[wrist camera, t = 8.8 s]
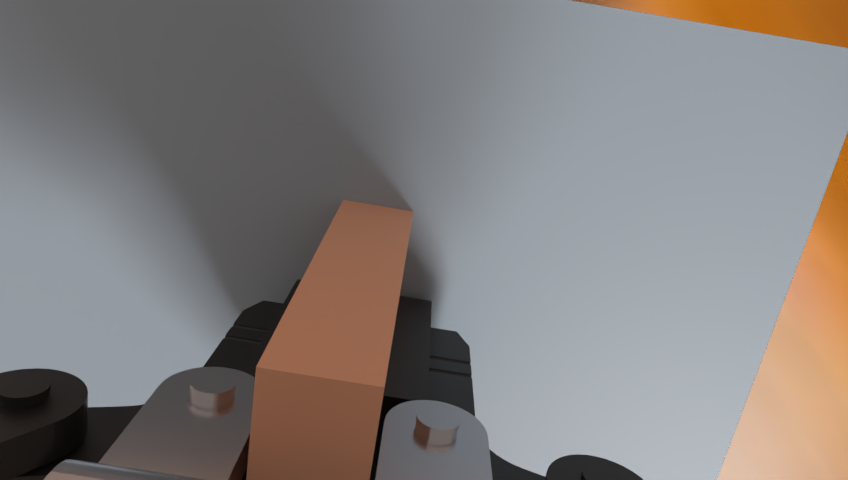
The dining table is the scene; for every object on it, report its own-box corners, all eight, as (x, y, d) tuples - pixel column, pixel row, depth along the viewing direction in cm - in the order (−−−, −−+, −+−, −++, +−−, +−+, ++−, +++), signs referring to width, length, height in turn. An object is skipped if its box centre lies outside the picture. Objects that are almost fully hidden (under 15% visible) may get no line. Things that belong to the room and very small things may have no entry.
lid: (808, 44, 12) (1306, 108, 5) (630, 566, 16) (769, 1001, 9) (17, -92, 12) (-622, -224, 5) (39, 475, 16) (-284, 853, 9)
